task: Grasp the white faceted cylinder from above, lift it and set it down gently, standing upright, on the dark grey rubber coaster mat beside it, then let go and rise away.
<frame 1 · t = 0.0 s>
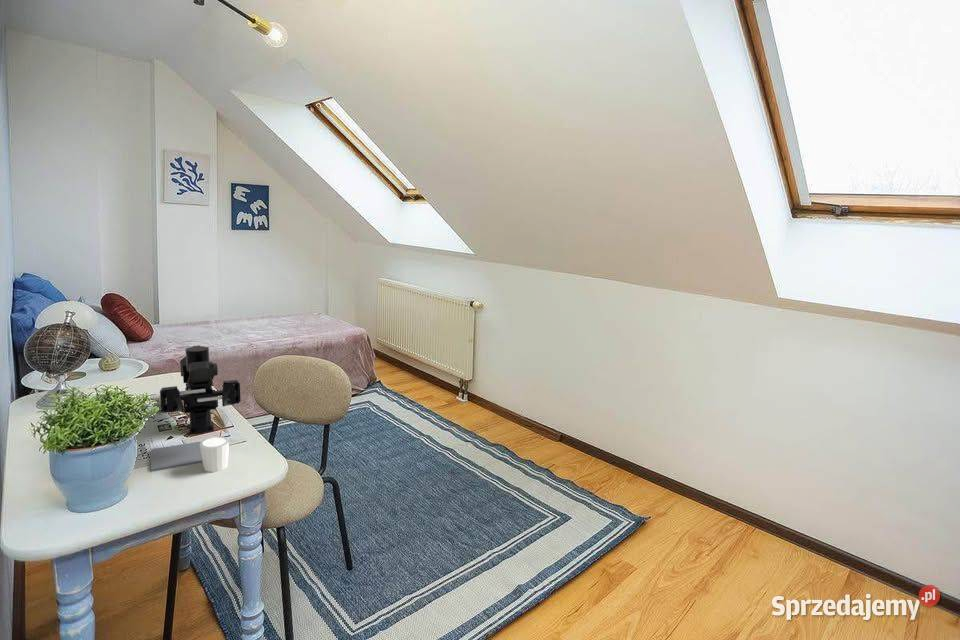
hand: (203, 407, 136), 17 cm above the table, tool horizontal, fingers open, 9 cm apart
white faceted cylinder: (215, 467, 141), on the table
coaster mat: (177, 456, 144), on the table
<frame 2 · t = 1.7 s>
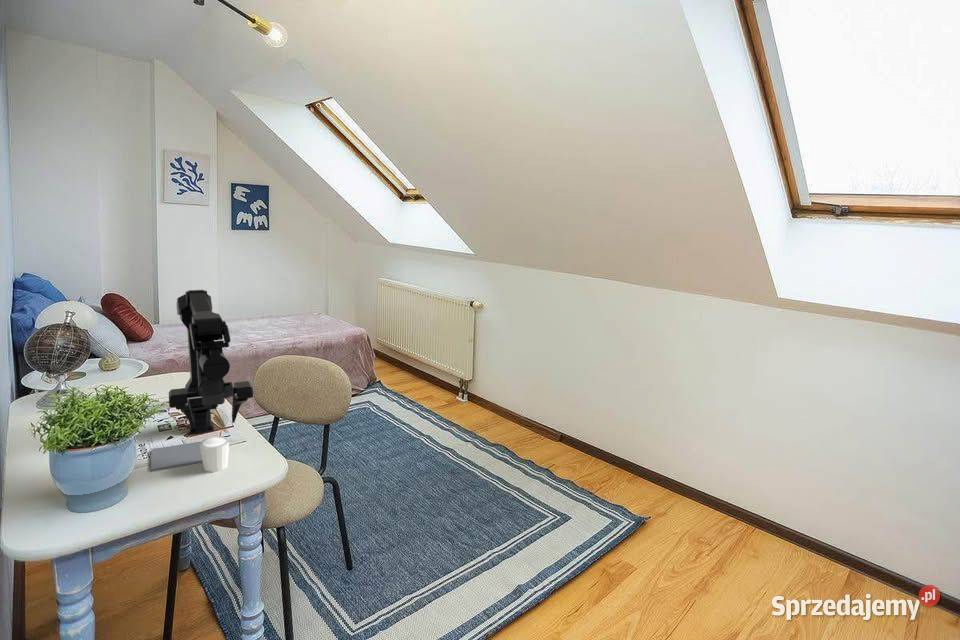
hand: (213, 425, 138), 11 cm above the table, tool pointing down, fingers open, 9 cm apart
nothing on the table moved.
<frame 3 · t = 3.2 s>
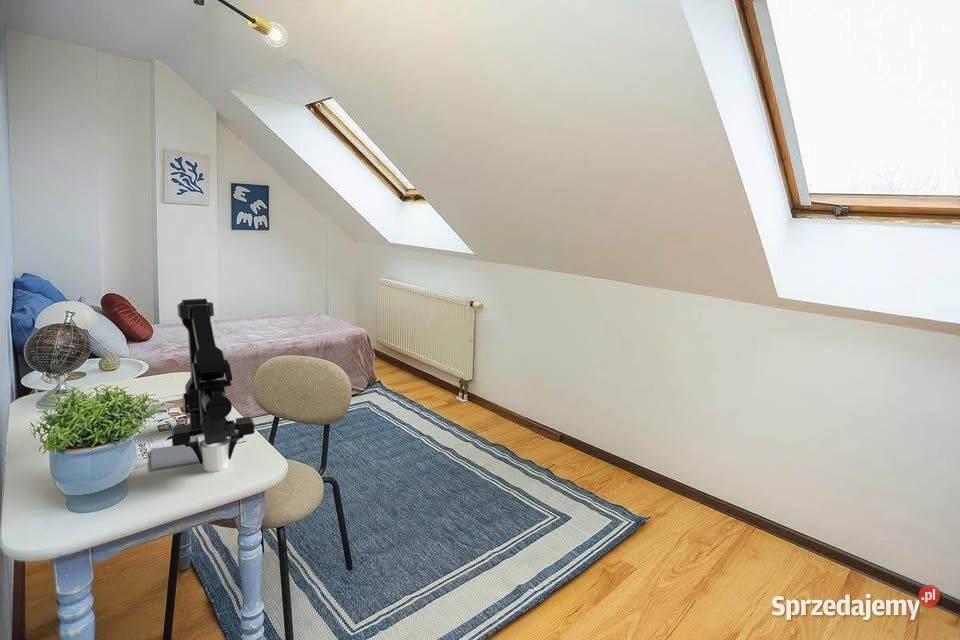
hand: (215, 461, 140), 2 cm above the table, tool pointing down, fingers closed on white faceted cylinder, 6 cm apart
white faceted cylinder: (215, 467, 141), on the table, touching gripper
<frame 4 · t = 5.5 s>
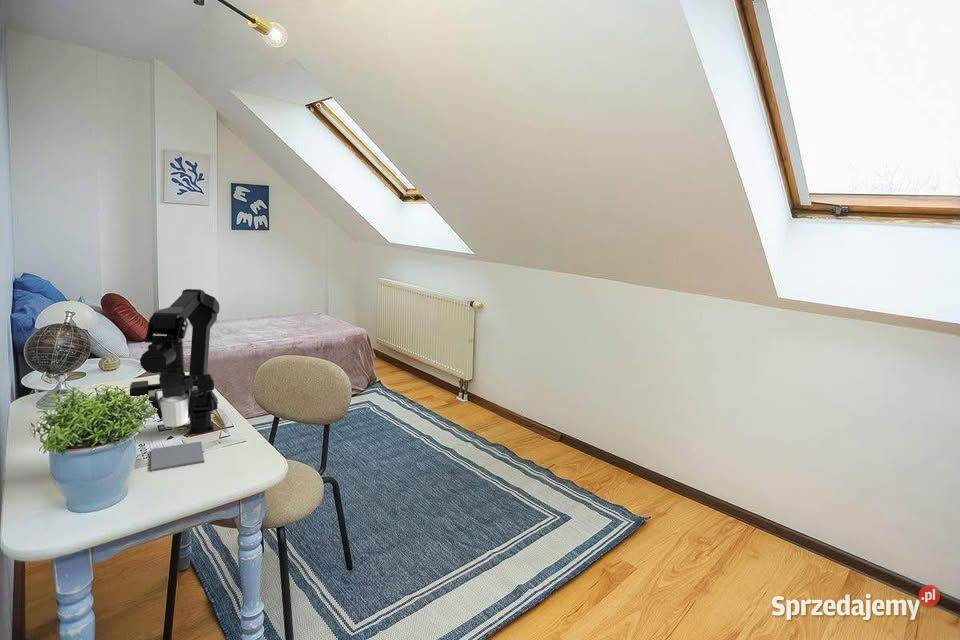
hand: (175, 416, 142), 11 cm above the table, tool pointing down, fingers closed on white faceted cylinder, 6 cm apart
white faceted cylinder: (175, 423, 142), point 10 cm above the table, touching gripper
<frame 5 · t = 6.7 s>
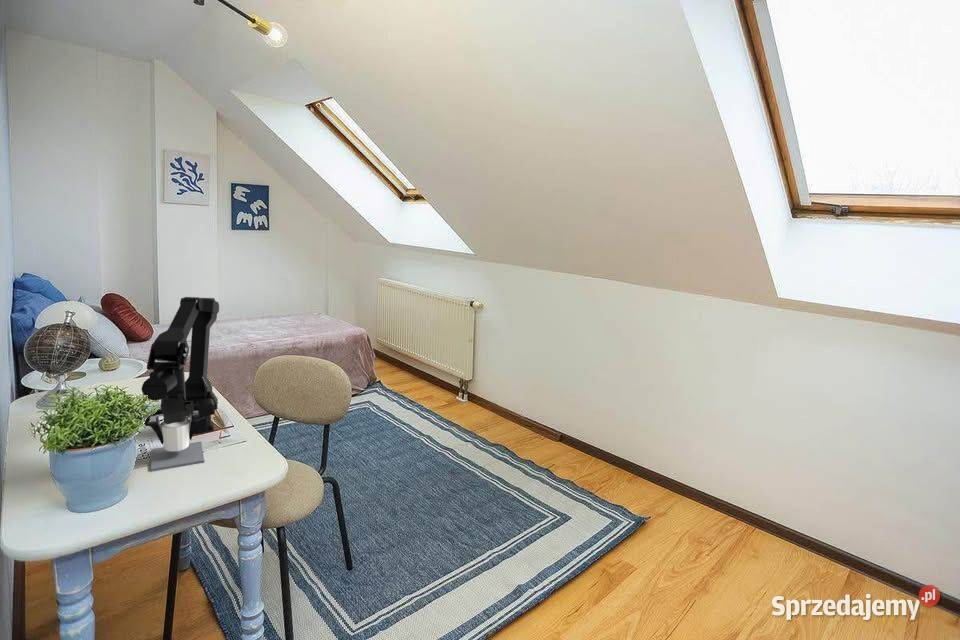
hand: (176, 441, 143), 4 cm above the table, tool pointing down, fingers closed on white faceted cylinder, 6 cm apart
white faceted cylinder: (177, 447, 144), point 3 cm above the table, touching gripper
when the fingers open (3 cm above the table, at t = 7.9 s): white faceted cylinder drops 1 cm, resting on coaster mat.
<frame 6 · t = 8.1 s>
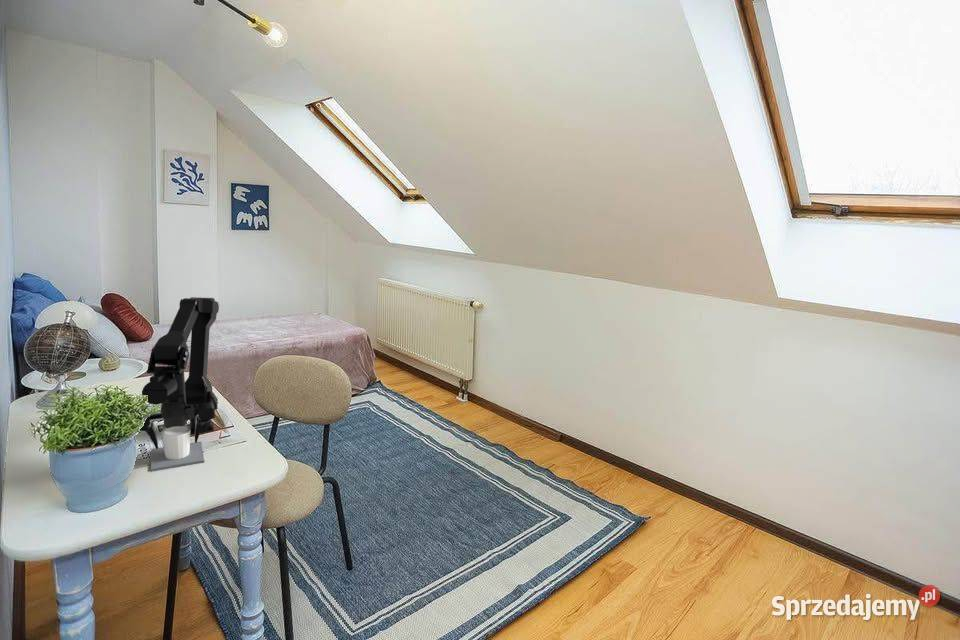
hand: (176, 445, 144), 3 cm above the table, tool pointing down, fingers open, 9 cm apart
white faceted cylinder: (177, 455, 144), resting on coaster mat
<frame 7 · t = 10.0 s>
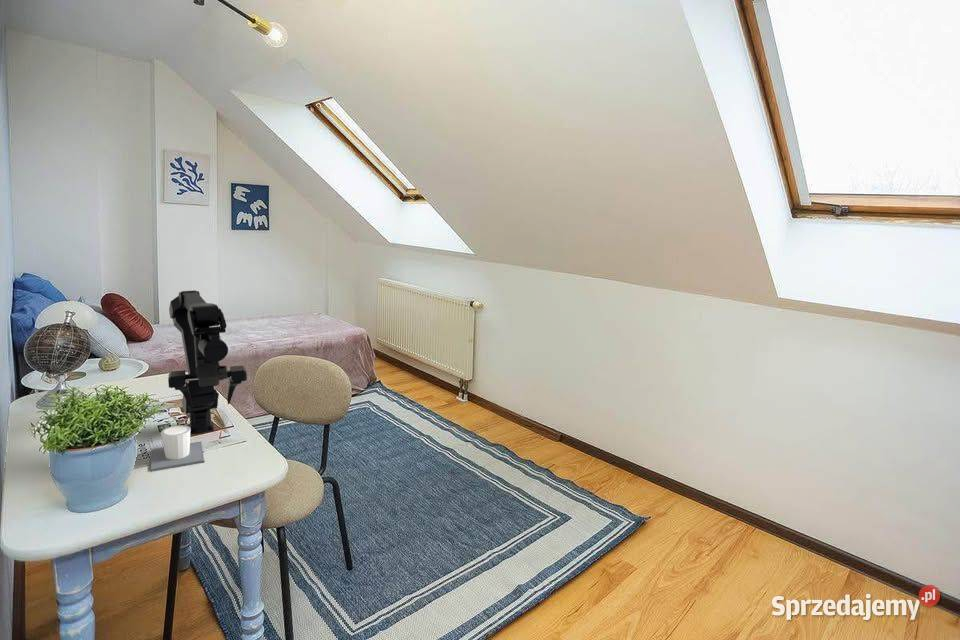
hand: (210, 405, 149), 12 cm above the table, tool pointing down, fingers open, 9 cm apart
nothing on the table moved.
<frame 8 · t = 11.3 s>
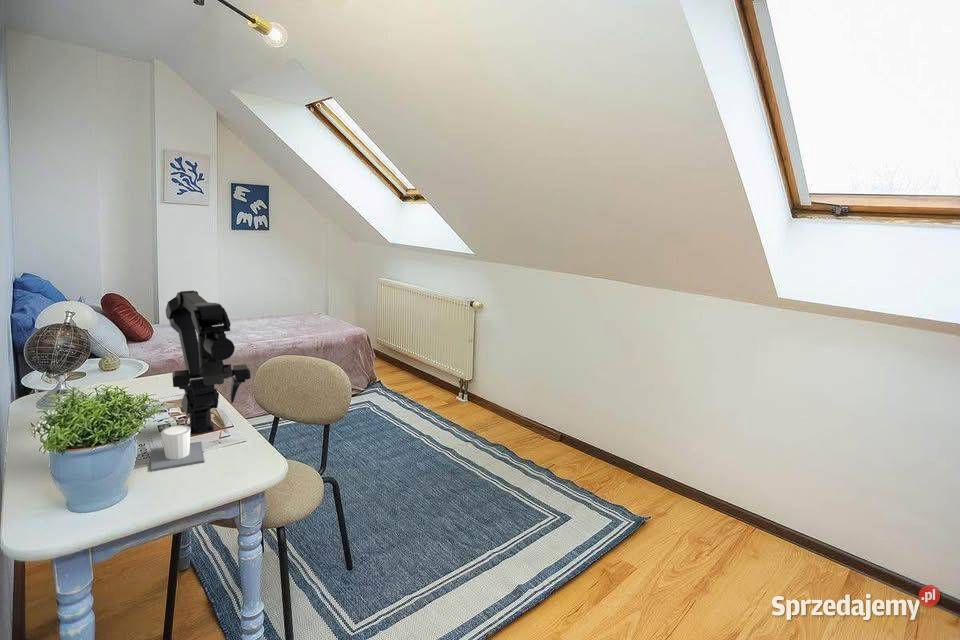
hand: (213, 404, 149), 12 cm above the table, tool pointing down, fingers open, 9 cm apart
nothing on the table moved.
at the end: white faceted cylinder inside the target area on the coaster mat (0.1 cm from its centre), point 0.4 cm above the coaster mat's base; white faceted cylinder tilted 0°; the gripper is holding nothing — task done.
